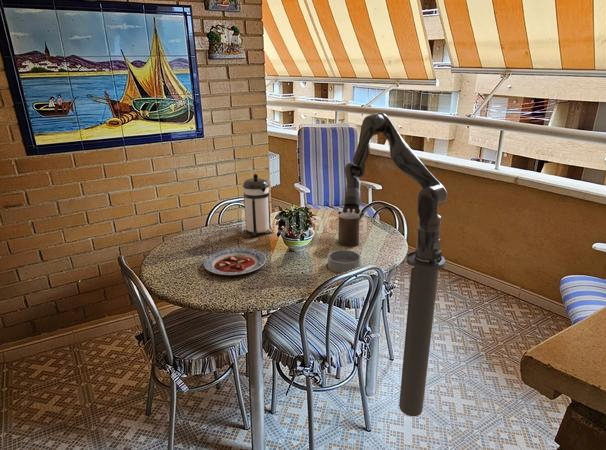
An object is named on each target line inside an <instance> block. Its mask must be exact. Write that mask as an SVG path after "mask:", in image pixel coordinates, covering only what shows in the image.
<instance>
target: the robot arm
mask: <svg viewBox="0 0 606 450" xmlns="http://www.w3.org/2000/svg"><path fill="white" fill-rule="evenodd" d="M380 134H381V135H383V136H384V138H385V139H386V141H387V142H388V145H389V157H390V159H391V160H392V162H393V163H394V165H395V166H396V168H397V169H398V170H399V171H400V172H401V173H403V174H404V175H406V176H407V177H408V178H410V179H412V180H413V181H414V182H416V183H417V184H418V185H419V186H420V187H421V189H420V190H419V192H418V196H417V209H416V210H417V211H416V212H417V214H416V215H417V217H418V221H417V222H418V223H417V232H416V233H417V234H416V243H415V244H416V245H415V250H414V252H416V253H415V259H416V260H418V261H420V262H424V263H431V264H432V263H434V262H436V261H437V260H438V261H437V263H439V262H440V261H441V260H442V257H443V250H441V243H442V239H440V235H441V227H442V216H441V215H440V214H438V207H439V206H441V205H444V204H445V203H447V201H448V195H449V194H448V191H447V189H446V188H445V186H444V185H443V184H442V183H441V182H440V181H439V180H438V179H437V178H436V177H435V176H434V175H433V173H431V172H430V171H429V170H428V168H427V167H426V166H425V164H424V163H423V162H422V161H421V160H420V158H419V157H418V156H417V155H416V153H415V152H414V150H413V149H412V148H411V147H410V146H409V145H408V143H407V142H406V141H405V140H404V138H403V137H402V136H401V134H400V133H399V131H398V130H397V128H396V127H395V125H394V124H393V122H392V120H391V119H390V117H389V116H388V115H387V114H386V113H385V112H383V111H378V112H375V113H371V114H368V115H367V116H365V117H364V118H363V120H362V123H361V128H360V132H359V136H358V143H357V147H356V148H355V149H356V150H355V151H354V154H353V155H352V156H353V157H352V162H347V163H346V165H345V166H344V175H345V180H346V189H345V194H344V203H343V208H342V210H341V211H338V212H337V213H338V216H339V215H340V214H341V213H356V214H359V215H360V220H362V218H364V216H365V213H364V212H362V211H361V209H360V205H361V186H362V183H361V181H360V180H359V179H362V178H363V177H364V176H365V175H366V164H367V161H368V159H369V157H370V155H371V146H370V142H371V140H372V138H373V136H376V135H380ZM441 256H442V257H441ZM439 258H440V259H439Z"/></svg>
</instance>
